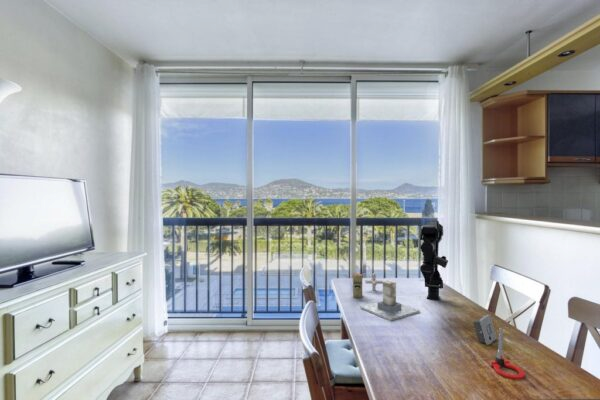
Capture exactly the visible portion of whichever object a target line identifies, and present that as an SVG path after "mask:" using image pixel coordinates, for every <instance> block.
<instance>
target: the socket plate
mask: <svg viewBox="0 0 600 400" xmlns="http://www.w3.org/2000/svg"><path fill="white" fill-rule="evenodd" d="M359 308H360V309H361V310H362V311H363V310H364V311H366V312H368V313H370V314H373V315H375V316H378V317H380V318H383V319H385V320H388V321H389V322H391V321H392V322H393V321H396V320H398V319H402V318H406V317H408V316H411V315H415V314H418V313H420V312H421V311H420V309H417V308H414V307H412V306H409V305H405V304H402V303H401V302H397V301H396V305H392V306H388V305H386V304H383V300H381V301H377V302H372V303H368V304H365V305H361V306H360V307H359Z"/></svg>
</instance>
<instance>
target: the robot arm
mask: <svg viewBox="0 0 600 400" xmlns="http://www.w3.org/2000/svg"><path fill="white" fill-rule="evenodd" d="M443 237H444V226H443V225H442V224H441V223H440V221H439V220H436V219H435V220H432V219H431V220H428V224H427V225H422V227H421V229H420V236H419V240H420V241H423V242H422V243H421V245H420V251H421V252H422V256H423V257H422V258H423V261H422V264H421V265H420V267H419V269H420V272H421V274H422V276H423V279H424V287H425V288H427V296H426V299H427V300H434V301H440V299H441V296H440V290H442V289H444V280H443V277H442V276H441V273H440V271H439V266H441V267H442V268H443V269H446V267H447V265H448V262H449V260H448V259H447V257H446V256H445V255H442V256H439V249H440V248H439V245H440V242H441V241H442V240H443Z"/></svg>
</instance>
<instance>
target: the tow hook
mask: <svg viewBox="0 0 600 400" xmlns="http://www.w3.org/2000/svg"><path fill="white" fill-rule="evenodd" d="M503 340H504V335H503V328H502V327H499V331H498V341H497V342H498V343H497V353H496V356H495V361H489V363H488V364H489V366H490V367H492V368H493V370H494V372H495V373H497V374H498V375H499V374H500V375H499V376H501V375H502V376H501V377H503V376H504V378H506V379H509V378H510V380H516V379H519V380H523V379H525V377H526V373H525V371H524V370H523V369H522V368H520V367H518V366H517V365H514V364H512V363H511V362H510V361H509V360H505V359H504V357H503V355H504V352H503ZM501 367H506V368H508V369H512V370H514V371H516V372H517V373H518V374H510V373H507V372H504V371H503V370H501Z"/></svg>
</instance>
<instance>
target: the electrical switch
mask: <svg viewBox="0 0 600 400" xmlns="http://www.w3.org/2000/svg"><path fill="white" fill-rule="evenodd" d="M472 322H473V325H474V330H475V333H476V337H477V340H478V342H479V343H485V345H486V346H488V345H491V344H492V343H494V341H496V340H497V333H496V329H495V327H494V324H493V320H492V317H491V315H490V314H486V315H484V316H479V317H478V318H476V319H475V320H474V321H472Z"/></svg>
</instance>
